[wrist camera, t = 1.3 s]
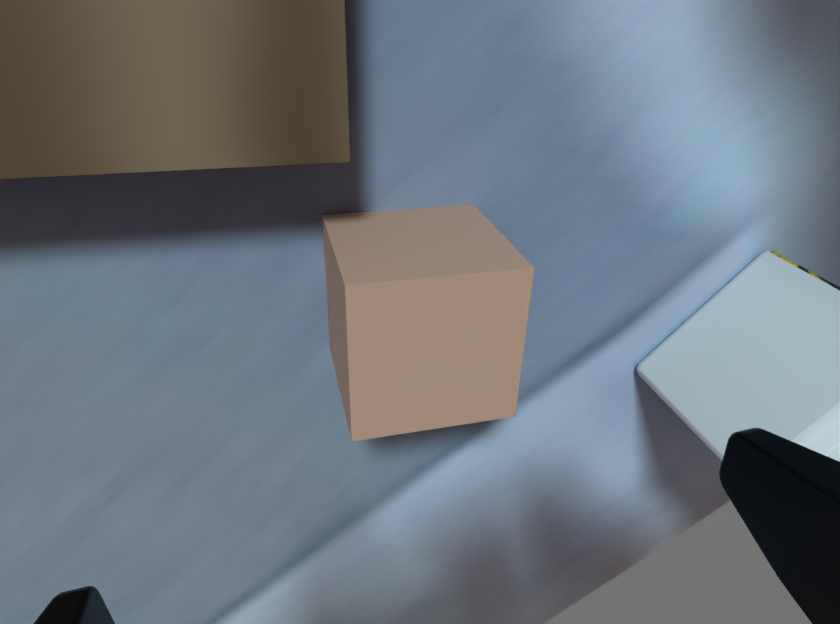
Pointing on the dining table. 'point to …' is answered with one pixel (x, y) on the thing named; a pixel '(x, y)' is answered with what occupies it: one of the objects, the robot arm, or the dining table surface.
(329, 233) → the terracotta cube
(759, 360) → the medicine bottle
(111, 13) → the walnut base
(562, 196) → the dining table surface
